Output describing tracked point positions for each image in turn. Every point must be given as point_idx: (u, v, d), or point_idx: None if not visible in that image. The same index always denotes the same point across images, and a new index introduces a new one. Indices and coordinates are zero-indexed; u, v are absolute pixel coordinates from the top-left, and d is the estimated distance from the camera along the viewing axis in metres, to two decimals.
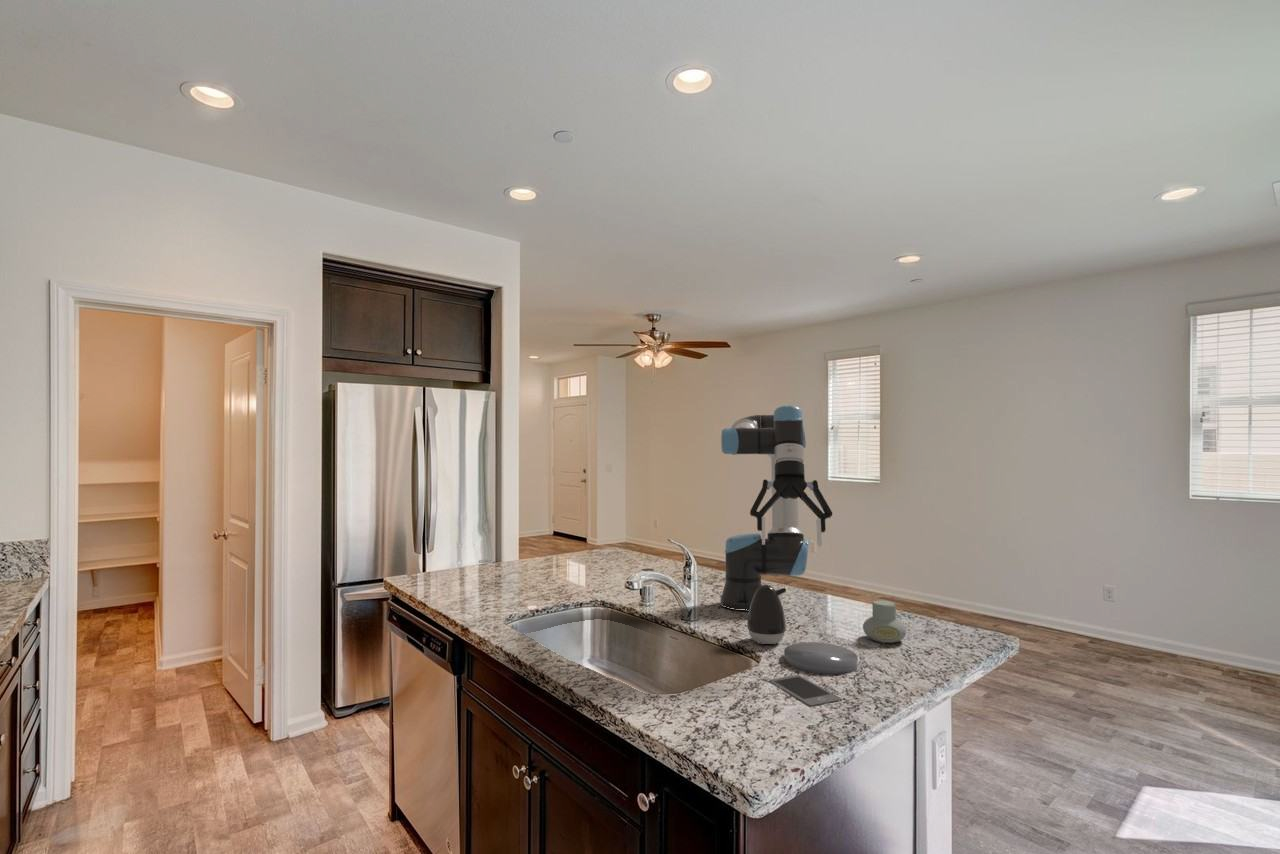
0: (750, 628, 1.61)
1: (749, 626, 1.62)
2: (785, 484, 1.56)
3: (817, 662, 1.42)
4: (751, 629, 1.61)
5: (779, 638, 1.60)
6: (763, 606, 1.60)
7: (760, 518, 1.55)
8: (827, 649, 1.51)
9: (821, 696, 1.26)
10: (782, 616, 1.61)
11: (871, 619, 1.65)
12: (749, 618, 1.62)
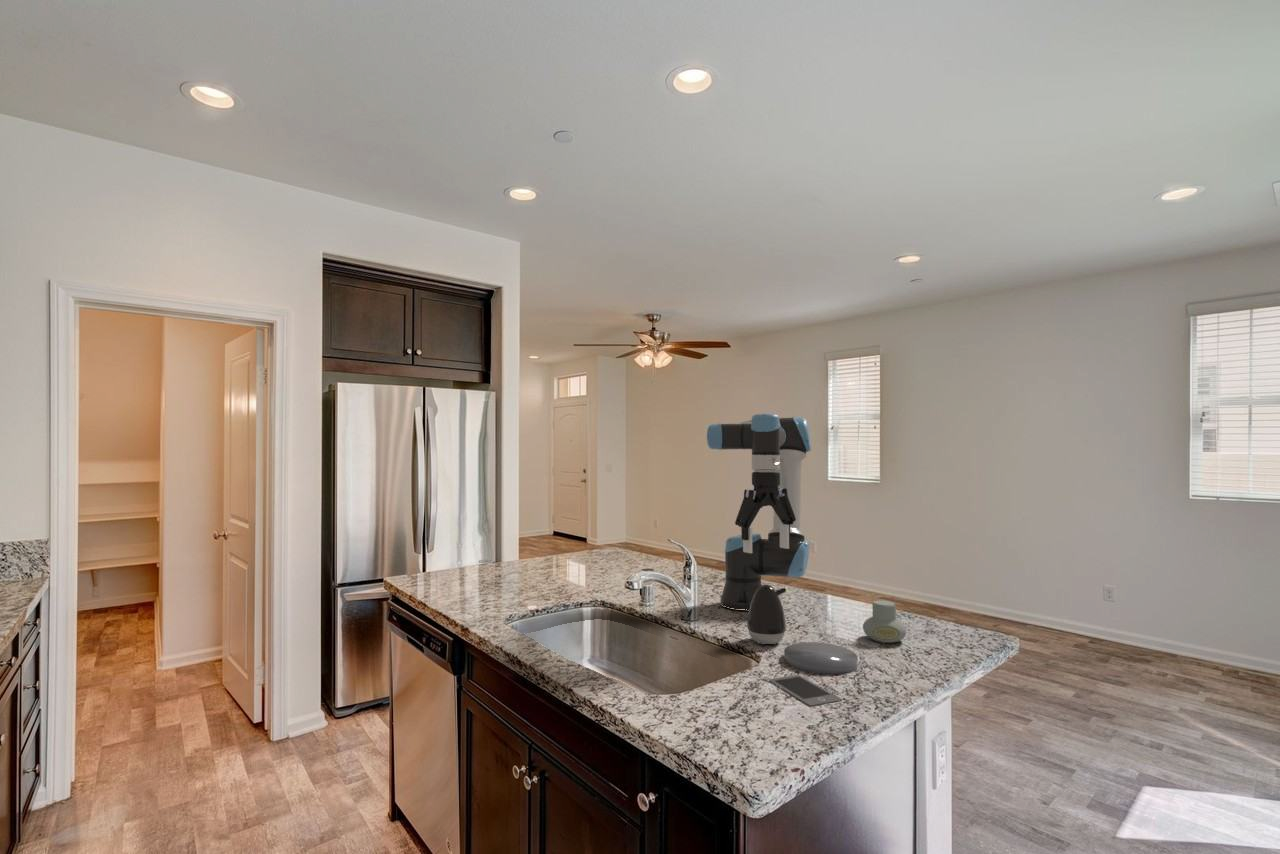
0: (750, 628, 1.61)
1: (749, 626, 1.62)
2: (768, 495, 1.62)
3: (817, 662, 1.42)
4: (751, 629, 1.61)
5: (779, 638, 1.60)
6: (763, 605, 1.60)
7: (747, 529, 1.60)
8: (827, 649, 1.51)
9: (821, 696, 1.26)
10: (782, 616, 1.61)
11: (871, 619, 1.65)
12: (749, 618, 1.62)
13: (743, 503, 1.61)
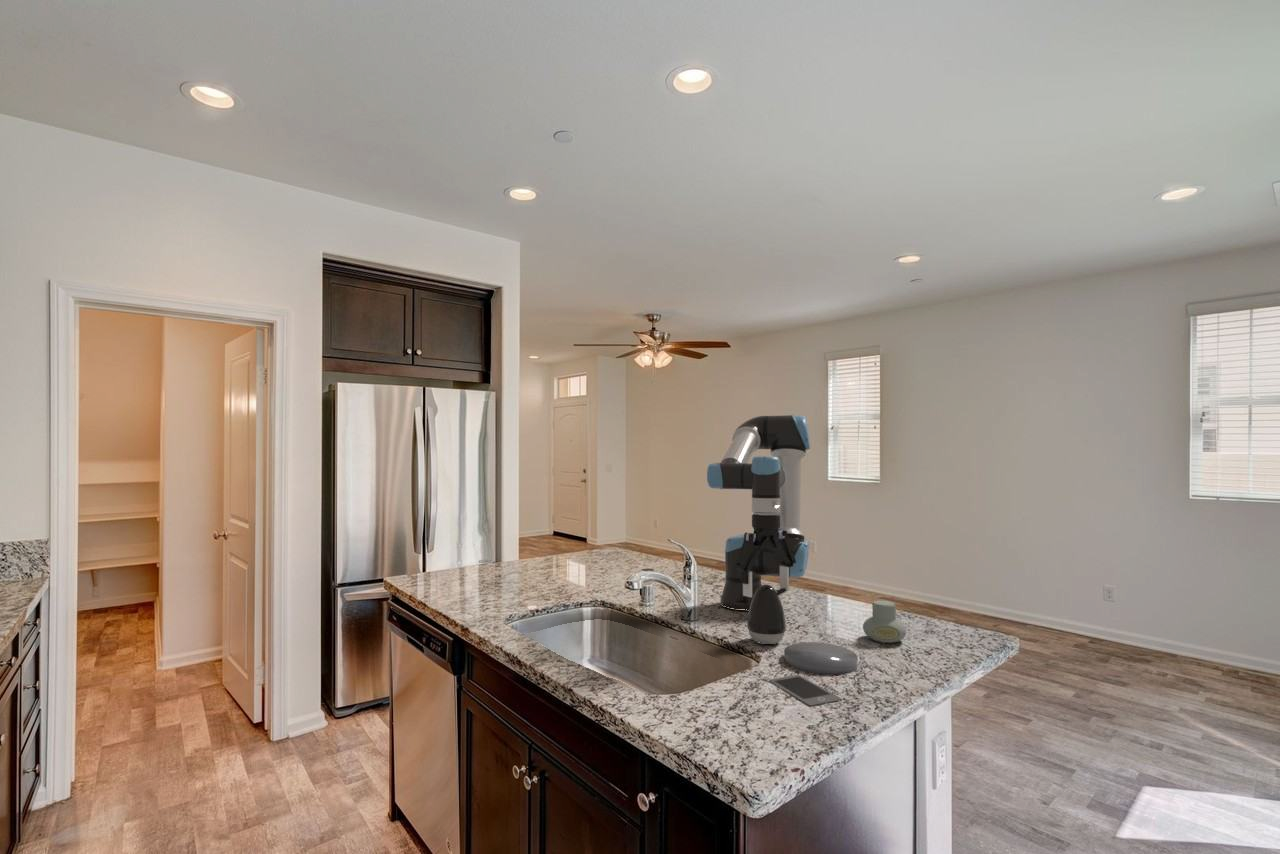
0: (750, 628, 1.61)
1: (749, 626, 1.62)
2: (768, 538, 1.62)
3: (817, 662, 1.42)
4: (751, 629, 1.61)
5: (779, 638, 1.60)
6: (763, 605, 1.60)
7: (747, 572, 1.59)
8: (827, 649, 1.51)
9: (821, 696, 1.26)
10: (782, 616, 1.61)
11: (871, 619, 1.65)
12: (749, 618, 1.62)
13: (743, 546, 1.60)
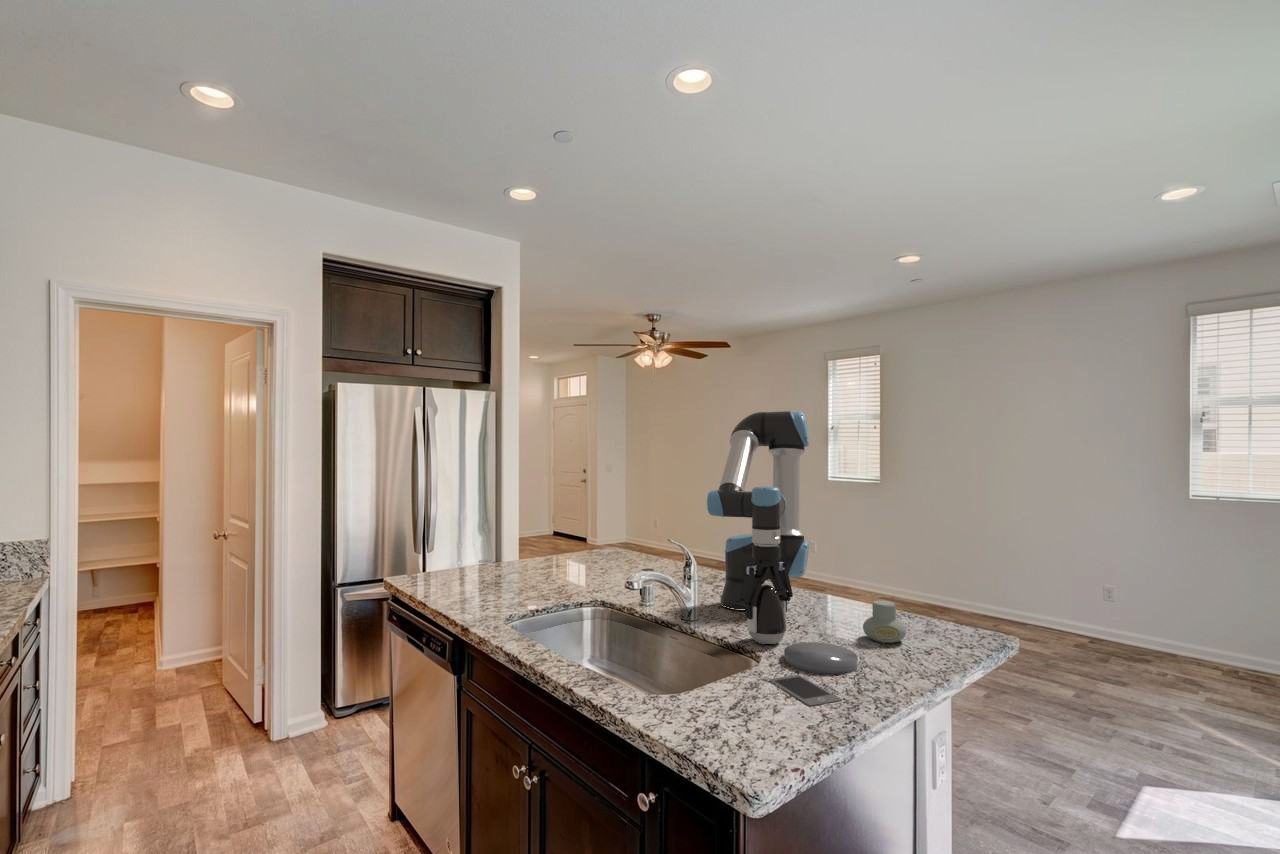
0: None
1: None
2: (768, 569, 1.62)
3: (817, 662, 1.42)
4: None
5: (779, 638, 1.60)
6: (763, 605, 1.60)
7: (752, 607, 1.60)
8: (827, 649, 1.51)
9: (821, 696, 1.26)
10: (782, 616, 1.61)
11: (871, 619, 1.65)
12: None
13: (745, 581, 1.60)
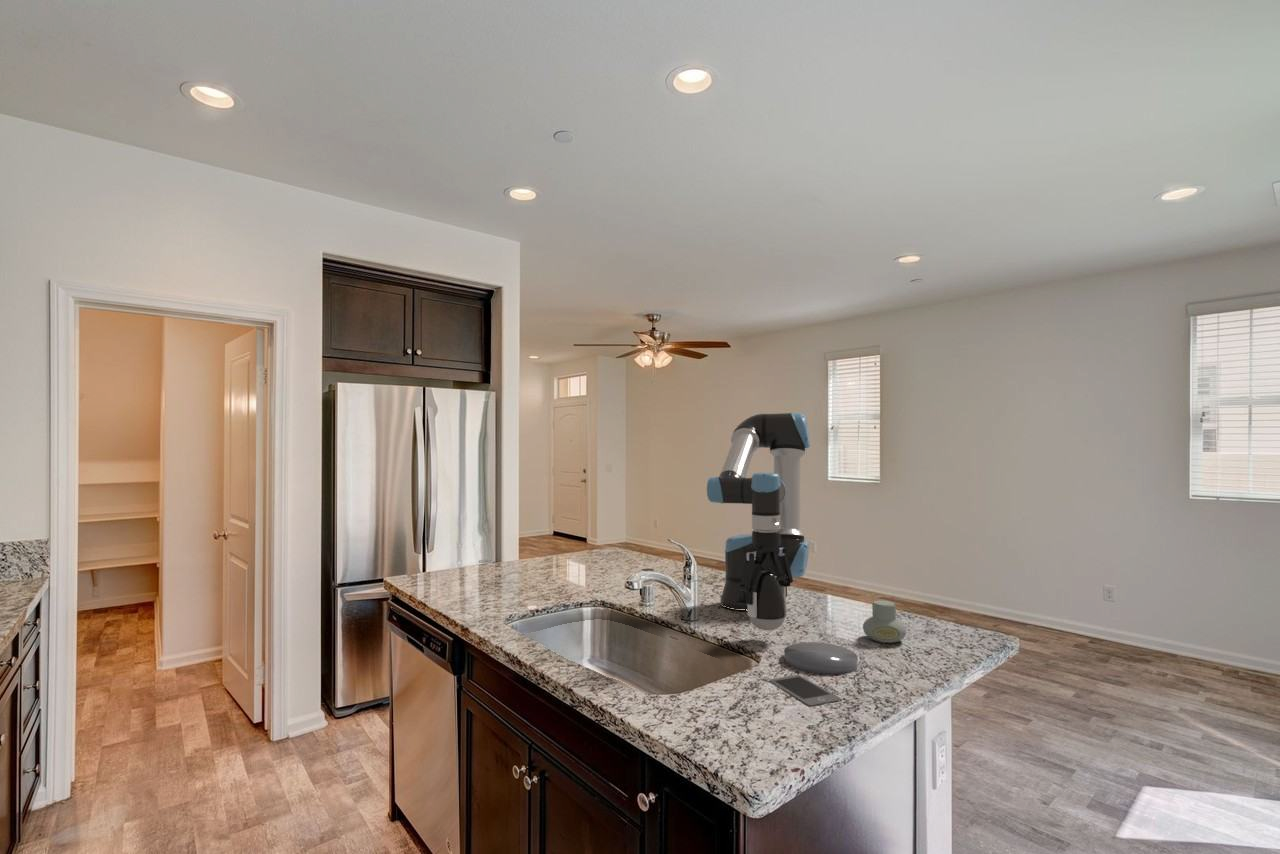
0: None
1: None
2: (768, 555, 1.62)
3: (817, 662, 1.42)
4: None
5: (779, 623, 1.60)
6: (763, 591, 1.61)
7: (752, 593, 1.60)
8: (827, 649, 1.51)
9: (821, 696, 1.26)
10: (782, 601, 1.61)
11: (871, 619, 1.65)
12: None
13: (745, 567, 1.61)
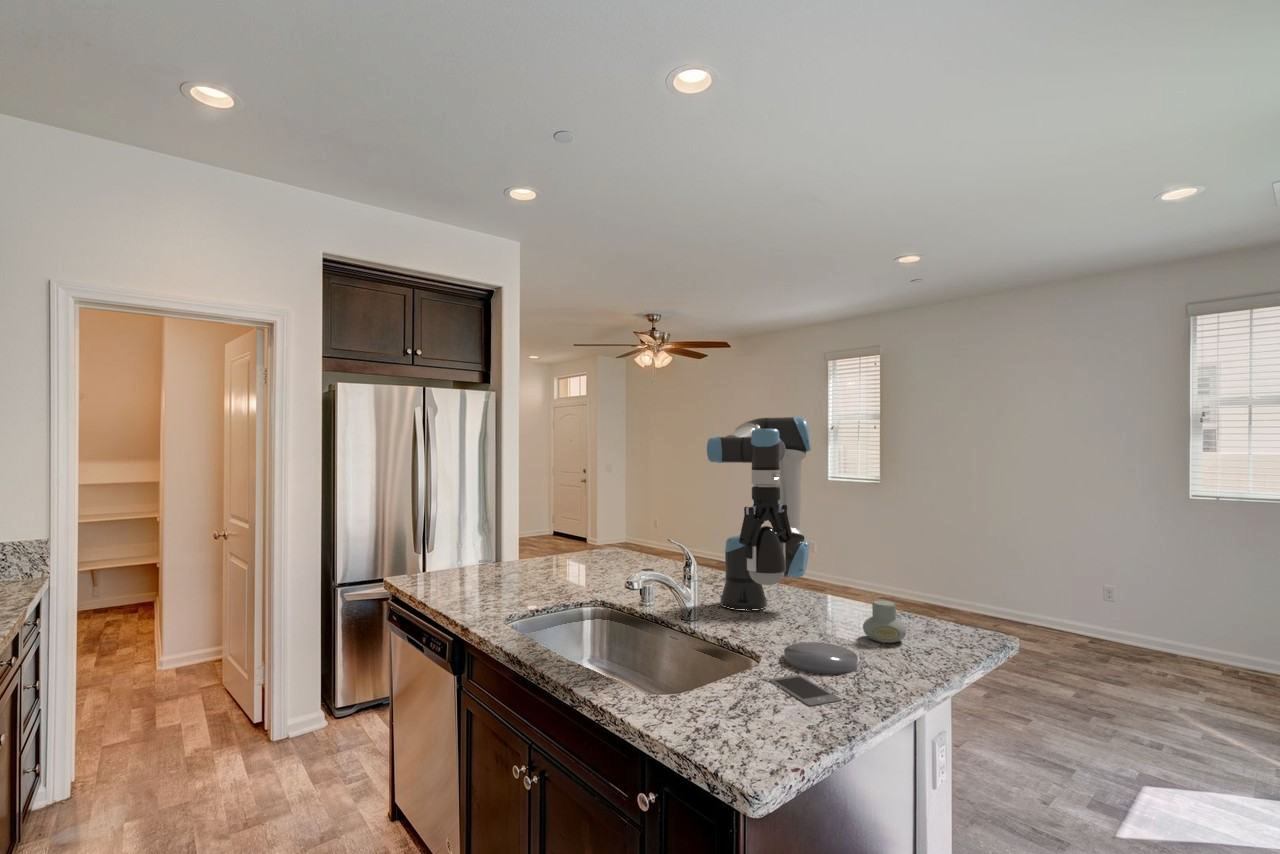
0: None
1: None
2: (767, 509, 1.62)
3: (817, 662, 1.42)
4: None
5: (779, 577, 1.61)
6: (763, 545, 1.61)
7: (751, 547, 1.60)
8: (827, 649, 1.51)
9: (821, 696, 1.26)
10: (782, 556, 1.61)
11: (871, 619, 1.65)
12: None
13: (744, 521, 1.61)
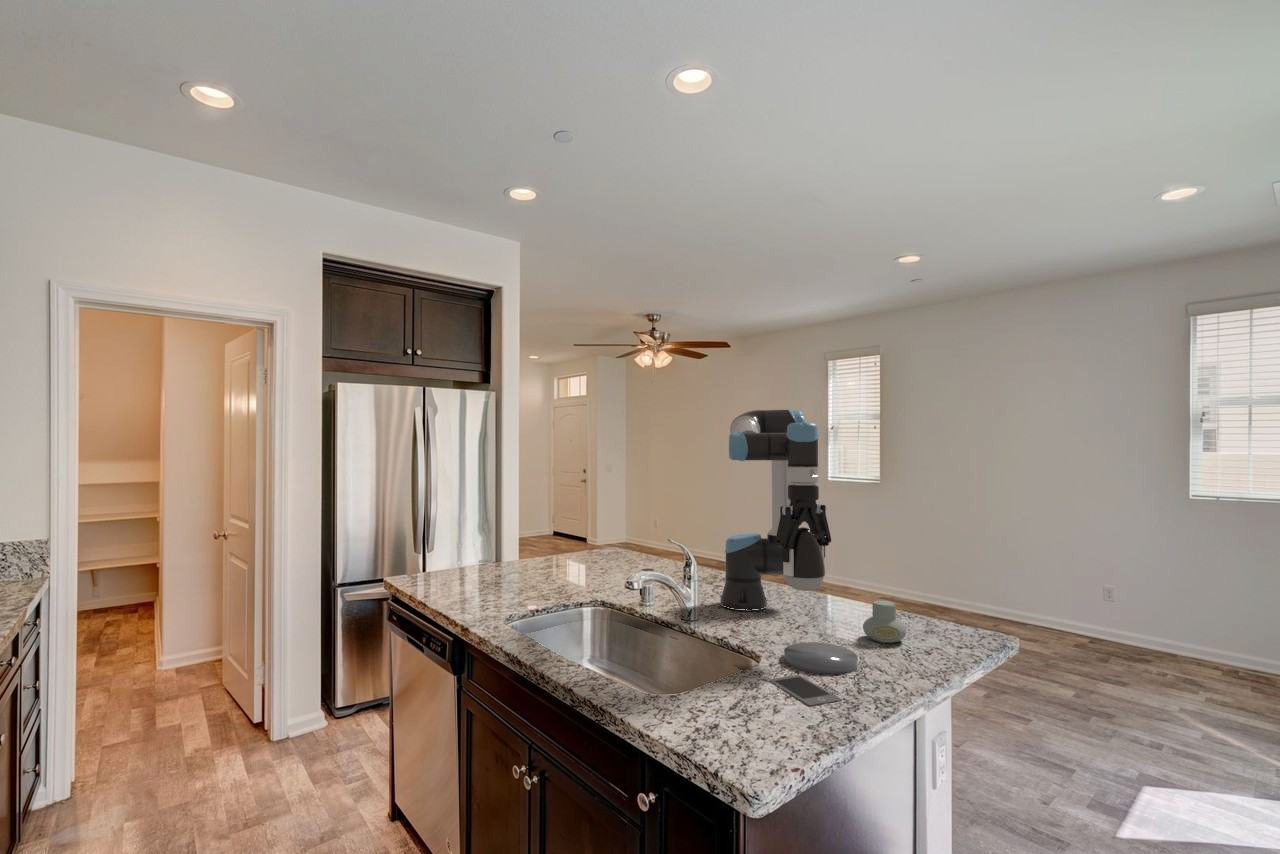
0: None
1: None
2: (805, 510, 1.51)
3: (817, 662, 1.42)
4: None
5: (818, 583, 1.49)
6: (800, 548, 1.49)
7: (788, 550, 1.49)
8: (827, 649, 1.51)
9: (821, 696, 1.26)
10: (821, 559, 1.50)
11: (871, 619, 1.65)
12: None
13: (781, 522, 1.50)
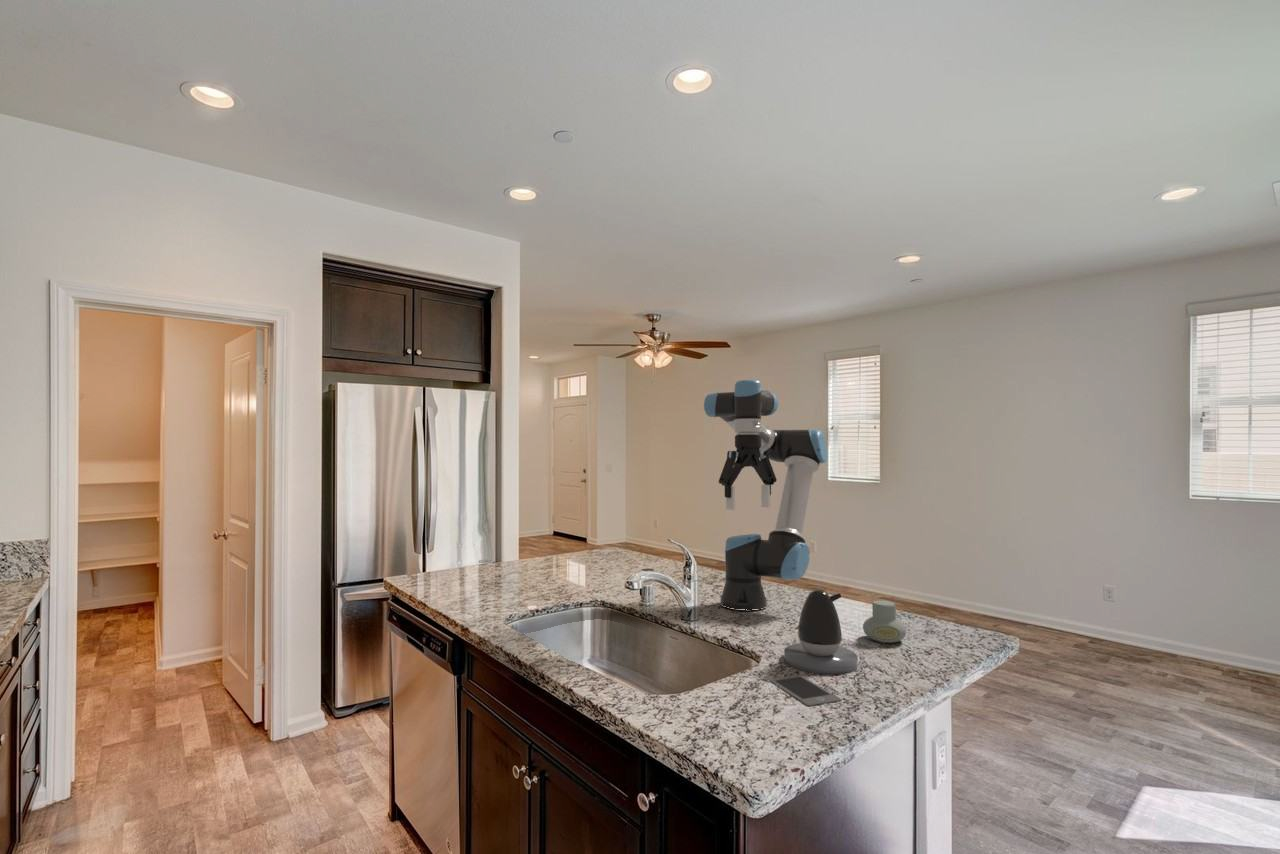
0: (802, 638, 1.47)
1: (801, 635, 1.47)
2: (749, 456, 1.73)
3: (817, 662, 1.42)
4: (803, 639, 1.46)
5: (835, 649, 1.45)
6: (817, 613, 1.45)
7: (730, 487, 1.70)
8: None
9: (820, 696, 1.26)
10: (838, 625, 1.46)
11: (871, 619, 1.65)
12: (801, 626, 1.48)
13: (726, 463, 1.71)
